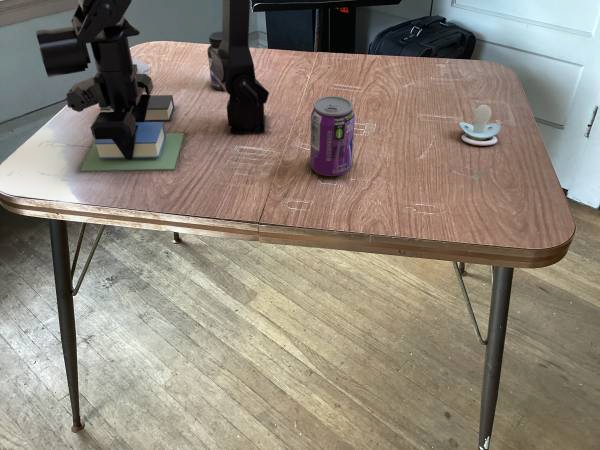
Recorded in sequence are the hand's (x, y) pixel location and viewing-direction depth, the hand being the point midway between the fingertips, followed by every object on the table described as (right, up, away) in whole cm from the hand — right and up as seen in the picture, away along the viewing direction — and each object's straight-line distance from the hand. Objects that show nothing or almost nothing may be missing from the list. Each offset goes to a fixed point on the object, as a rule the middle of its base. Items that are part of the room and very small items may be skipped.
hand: (134, 147), depth 97 cm
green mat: (0, -1, +1) cm, 1 cm away
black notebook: (-2, +8, +11) cm, 14 cm away
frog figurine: (-6, +16, +21) cm, 26 cm away
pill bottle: (+13, +17, +22) cm, 30 cm away
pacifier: (+63, +2, +4) cm, 63 cm away
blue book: (0, 0, 0) cm, 0 cm away
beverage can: (+35, -4, -3) cm, 36 cm away
